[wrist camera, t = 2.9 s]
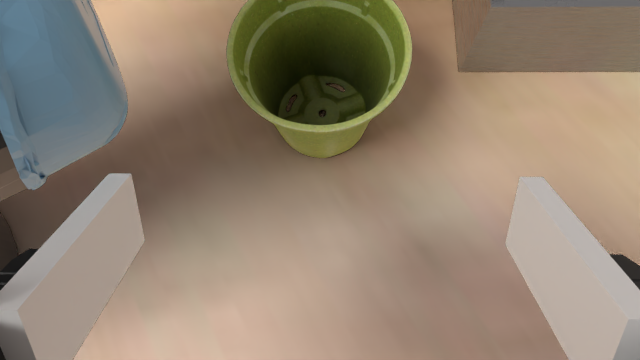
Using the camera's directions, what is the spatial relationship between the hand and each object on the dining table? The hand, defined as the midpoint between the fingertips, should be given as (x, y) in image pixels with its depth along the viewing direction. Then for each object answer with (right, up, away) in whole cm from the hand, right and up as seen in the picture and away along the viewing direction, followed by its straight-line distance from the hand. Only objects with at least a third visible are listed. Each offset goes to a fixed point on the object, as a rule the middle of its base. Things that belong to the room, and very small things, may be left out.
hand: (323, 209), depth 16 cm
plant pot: (0, +5, +16) cm, 17 cm away
